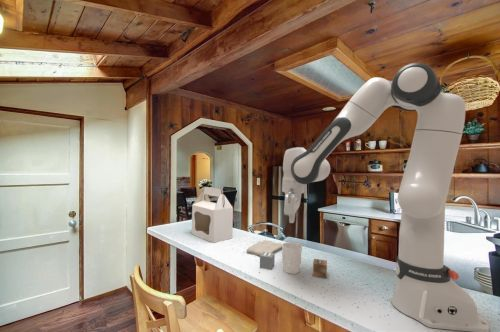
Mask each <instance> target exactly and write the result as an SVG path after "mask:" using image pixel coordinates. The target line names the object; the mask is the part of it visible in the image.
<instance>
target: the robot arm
mask: <svg viewBox="0 0 500 332" xmlns="http://www.w3.org/2000/svg"><path fill="white" fill-rule="evenodd" d="M442 89H443V86H442V85H441V83H440V81H439V77H438V76H437V74H436V72H435V71H434V69H433V68H432V67H431V66H429V64H426V63H422V62H412V63H409V64H406V65H404V66H403V67H401V68H400V69H399V70H398V71H397V72H396V73H395V74H394V76H393V78H392V80H387V79H386V78H383V77H380V76H378V77H376V76H374V77H372V78H370V79H369V80H367V81H366V82H365V83H364V84H362V86H360V88H359V89H358V90H356V92H355V93H354V94H353V96H352V97H351V98H350V99H349V100H348V101H347V103H345V105H344V107H343V108H342V109H341V110H340V112H339V113H338V114H337V116H336V117H335V118H334V119H333V121H332V122H331V123H330V124H329V125H328V126H327V127H326V128H325V129H324V130H323V132H322V133H321V134H320V135H319V137H318V138H317V139H316V140H315V141H314V142H313V143H312V144H311V146H310V147H309V148H308V149H305V148H306V147H305V148H304V147H302V146H296V147H295V146H294V147H290V148H288V149H286V150H285V151H284V155H283V160H282V161H283V162H282V171H283V176H282V181H281V182H282V183H281V184H282V185H281V192H283V193H284V194H285V195H284V207H283V214H284V215H285V216H288V223H289V224H294V222H295V219H296V212H297V211H298V209H299V208H300V205H301V200H302V194H304V193H305V189H306V188H305V185H309V184H311V183H315V182H316V183H317V182H321V181H324V180H326V179H327V178H328V177H329V175H330V174H331V164H330V162H329V161H328V160H327V159H326V158H328V156H329V155H330V154H331V153H332V152H333V151H334V150H335V148H337V147H338V145H340V144H341V143H342V142H344V141H346V140H349V139H350V138H353V137H357V136H360V135H363V133H365V132H367V130H368V129H369V128H370V127H372V125H373V124H374V123H375V122H376V121H377V120H378V119H379V117H380V116H381V115H382V114H383V113H384V111H386V110H387V109H388V108H390V107H391V108H395V109H399V110H403V111H408V112H416V113H417V114H416V115H417V119H416V120H417V121H416V124H415V125H416V126H415V129H414V133H413V138H412V142H411V146H410V150H409V155H408V159H407V161H406V165H405V167H404V168H405V169H404V172H403V175H402V177H401V181H400V182H401V183H400V186H399V189H398V193H397V202H398V206H399V207H400V208H401V216H400V217H401V218H400V223H399V224H400V225H399V231H398V255H397V257H396V263H395V268H396V269H395V273H396V280H395V281H396V282H395V285H394V286H395V287H394V290H393V294H392V297H391V299H390V301H391V304H392V306H393V307H395V309H396V310H398V311H400V313H402V314H404V315H406V316H408V317H410V318H413V319H415V320H417V321H418V322H420V323H421V324H422V325H425V326H426V327H428V328H432V329H443V330H451V331H463V332H464V331H465V332H490V324H489V323H488V321H487V320H486V319H485V317H484V316H483V315H481V313H479V311H478V308H477V305H476V302H475V301H474V298H472V297H471V295H470V294H469V293H467V291H466V290H464V289H463V288H462V287H461V286H459V285H458V284H457V283H456V282H455V281H458V279H460V275H459V274H458V273H457V272H456V271H455V270H453V269H451V268H450V267H449V266H447V265H445V264H444V252H445V250H444V249H445V224H446V222H445V219H446V204H447V203H446V202H447V198H448V194H449V189H450V186H451V182H452V177H453V172H454V169H455V164H456V161H457V160H456V159H457V157H458V152H459V148H460V144H461V141H462V136H463V132H464V129H465V128H464V127H465V120H466V102H465V99H464V98H463V97H461V96H460V95H458V94H455V93H450V92H442Z"/></svg>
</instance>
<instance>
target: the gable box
mask: <svg viewBox="0 0 500 332" xmlns="http://www.w3.org/2000/svg"><path fill="white" fill-rule="evenodd" d="M209 196H213V197H218V198H217V200H216V202H213V201H211V200H210V197H209ZM191 207H192V209H191V235H193V236H196V237H197V238H200V239H202V240H204V241H208V242H210V243H212V244H215V243H219V242H222V241H223V242H224V241H227V240H231V239H233V228H234V226H233V223H234V221H233V220H234V218H233V217H234V214H233V213H234V207H233V206H232V204H231V203H230V201H229V199H228V198H227V197H226V195H225V194H224V190H222V189H221V188H216V187H210V186H204V187H203V191H200V193H199V195H198V196H197V198H196V199H195V201H194V202H193V203H192V206H191Z"/></svg>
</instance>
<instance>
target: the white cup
mask: <svg viewBox="0 0 500 332" xmlns="http://www.w3.org/2000/svg"><path fill="white" fill-rule="evenodd" d="M281 244H282V250H281V254H282V255H281V257H282V270H283V271H284V272H285V273H287V274H291V275H292V274H293V275H294V274H299V273H300V272H301V264H302V253H303V252H302V251H303V246H302V244H300V243H297V242H292V241H291V242H290V241H288V242H287V241H285V242H283V243H281Z"/></svg>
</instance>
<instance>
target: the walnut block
mask: <svg viewBox="0 0 500 332" xmlns="http://www.w3.org/2000/svg"><path fill="white" fill-rule="evenodd" d="M327 268H328V260H325V259H319V258H313V261H312V277H315V278H322V279H328V277H327V275H328V274H327V273H328V269H327Z"/></svg>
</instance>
